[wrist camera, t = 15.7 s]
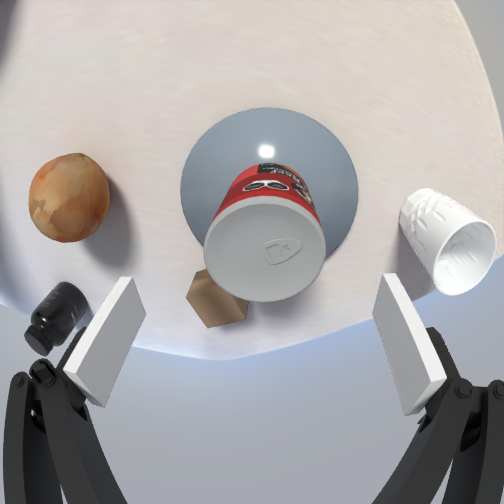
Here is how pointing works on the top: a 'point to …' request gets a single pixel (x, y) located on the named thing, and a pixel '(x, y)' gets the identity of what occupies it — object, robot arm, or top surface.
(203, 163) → the plate
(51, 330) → the supplement bottle
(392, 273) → the robot arm
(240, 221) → the canned food
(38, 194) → the onion
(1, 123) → the top surface
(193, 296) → the walnut block
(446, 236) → the white cup
